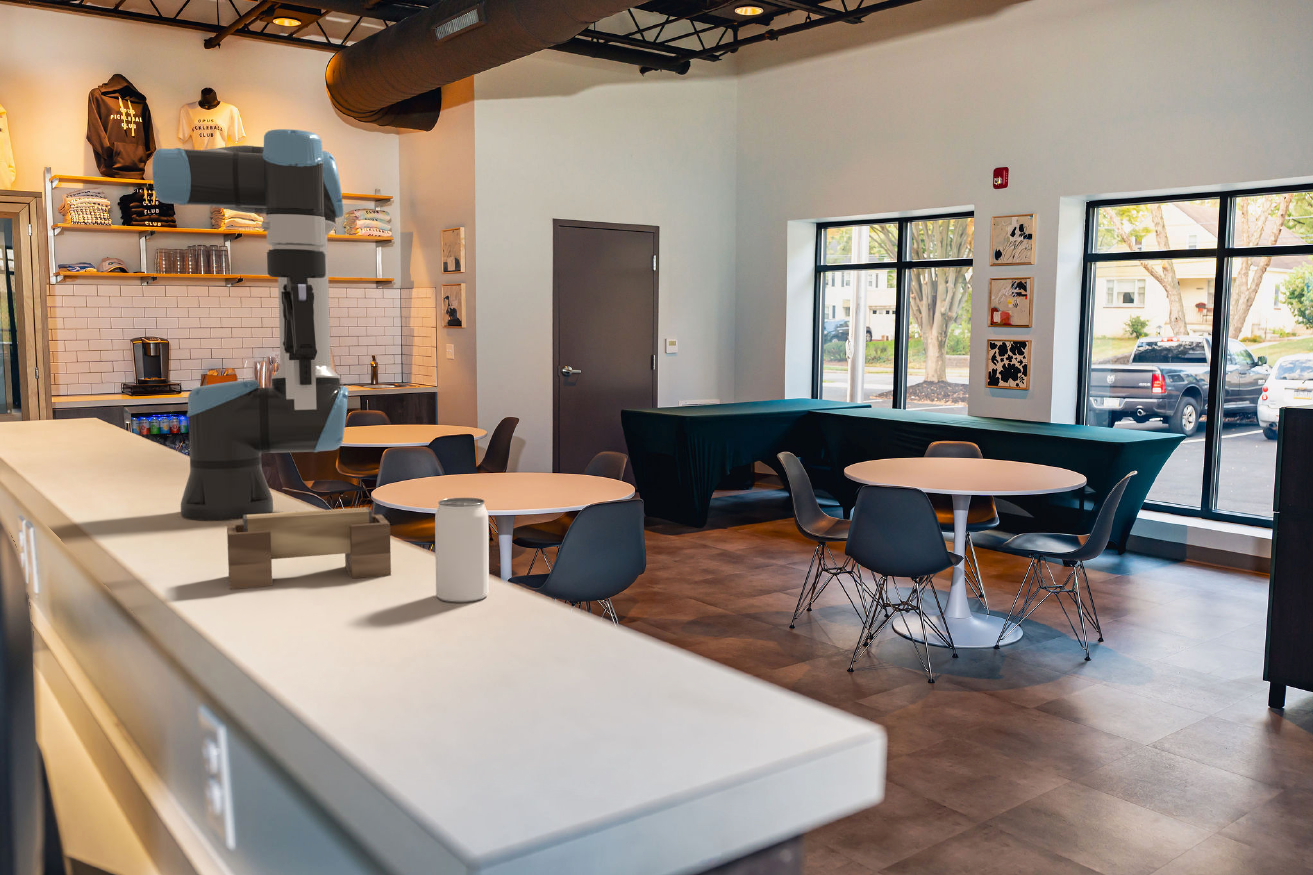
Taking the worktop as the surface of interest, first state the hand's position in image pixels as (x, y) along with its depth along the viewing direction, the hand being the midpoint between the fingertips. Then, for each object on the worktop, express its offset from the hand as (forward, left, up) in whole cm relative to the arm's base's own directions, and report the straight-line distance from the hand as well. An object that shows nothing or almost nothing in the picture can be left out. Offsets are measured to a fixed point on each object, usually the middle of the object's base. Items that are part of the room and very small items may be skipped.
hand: (300, 404), depth 142 cm
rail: (+8, 0, -19) cm, 21 cm away
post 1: (+8, -8, -22) cm, 25 cm away
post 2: (+8, +7, -22) cm, 25 cm away
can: (+26, +16, -23) cm, 38 cm away
